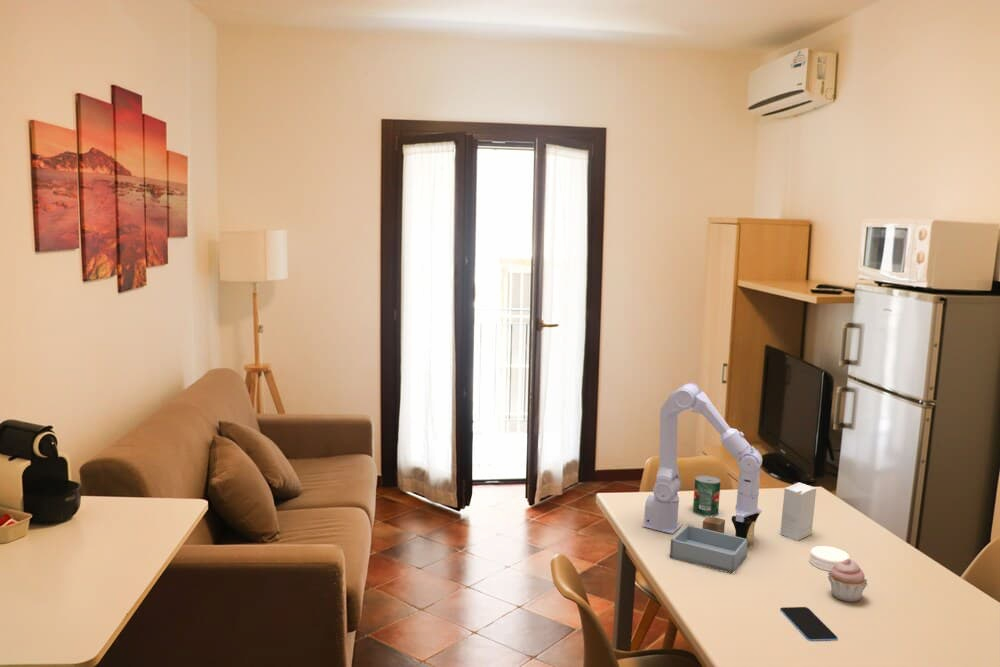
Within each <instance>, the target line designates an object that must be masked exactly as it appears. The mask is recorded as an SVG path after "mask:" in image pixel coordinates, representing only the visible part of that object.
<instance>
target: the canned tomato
mask: <svg viewBox="0 0 1000 667" xmlns="http://www.w3.org/2000/svg"><path fill="white" fill-rule="evenodd" d="M721 481H722V480H721V479H720V478H719V477H717V476H713V475H708V474H699V475H696V476H695V478H694V490H693V503H692V512H693V514H695V513H696V514H695V515H697V514H698V515H697V516H700V515H702V516H701V517H706V516H713V517H716V516H715V515H717V514H718V515H719V509H720V508H719V507H720V496H721V494H720V492H721ZM718 515H717V516H718Z"/></svg>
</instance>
